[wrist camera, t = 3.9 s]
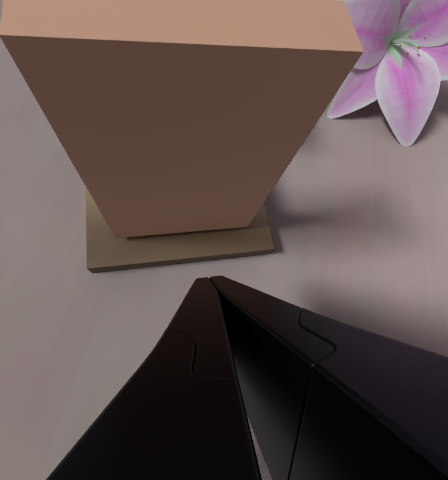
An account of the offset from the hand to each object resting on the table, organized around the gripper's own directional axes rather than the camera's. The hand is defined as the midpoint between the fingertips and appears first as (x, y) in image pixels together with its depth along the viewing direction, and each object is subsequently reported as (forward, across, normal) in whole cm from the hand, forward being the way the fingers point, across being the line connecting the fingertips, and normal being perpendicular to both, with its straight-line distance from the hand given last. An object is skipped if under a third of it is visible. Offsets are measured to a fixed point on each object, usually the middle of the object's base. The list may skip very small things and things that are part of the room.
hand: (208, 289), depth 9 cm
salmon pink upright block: (+10, 0, +3) cm, 11 cm away
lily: (+16, +16, +5) cm, 23 cm away
